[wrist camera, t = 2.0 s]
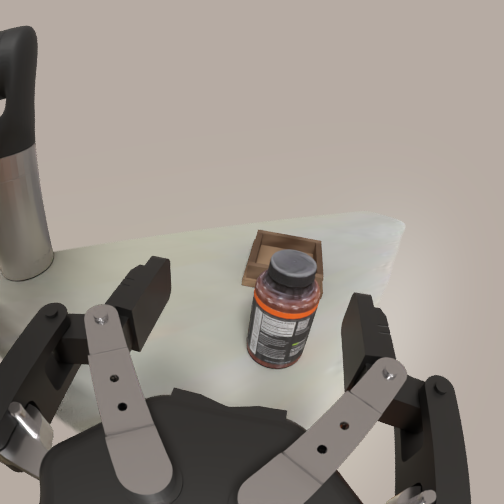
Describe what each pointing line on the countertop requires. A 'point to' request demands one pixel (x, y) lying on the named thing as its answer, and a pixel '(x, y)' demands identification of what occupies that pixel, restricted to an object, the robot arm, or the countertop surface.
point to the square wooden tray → (275, 242)
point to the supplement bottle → (283, 309)
